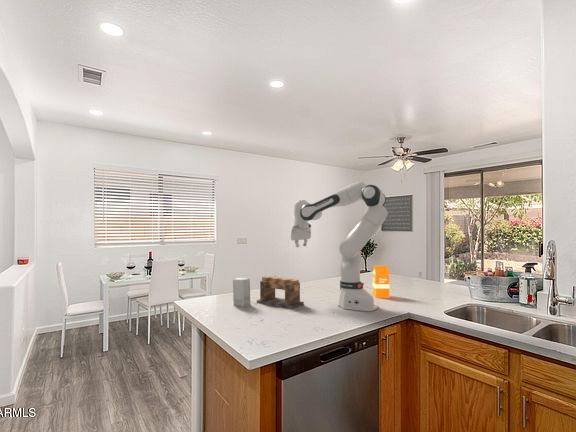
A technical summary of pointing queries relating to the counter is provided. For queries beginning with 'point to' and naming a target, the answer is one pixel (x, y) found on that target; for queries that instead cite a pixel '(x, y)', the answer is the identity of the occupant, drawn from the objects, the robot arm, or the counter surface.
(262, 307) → the counter surface
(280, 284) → the oak rail
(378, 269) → the orange juice
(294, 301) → the slotted posts
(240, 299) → the skincare box
